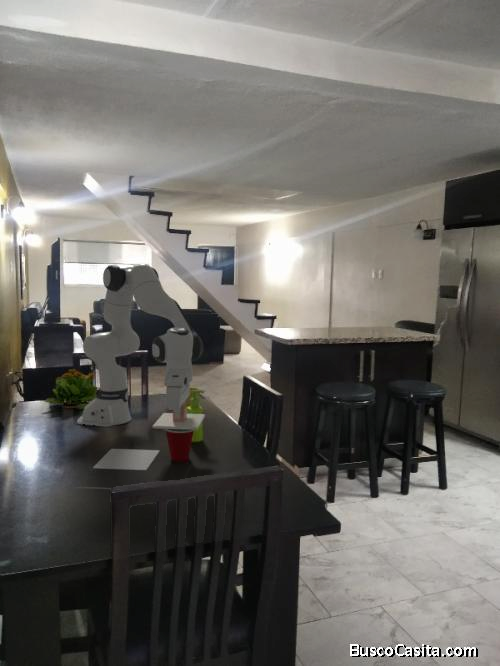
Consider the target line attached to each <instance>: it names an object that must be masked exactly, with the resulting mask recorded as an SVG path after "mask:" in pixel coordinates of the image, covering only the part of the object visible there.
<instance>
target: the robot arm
mask: <svg viewBox="0 0 500 666" xmlns="http://www.w3.org/2000/svg"><path fill="white" fill-rule="evenodd" d="M159 278H160V276H159V273H158V271H157V270H156V269H155V268H154V267H152V266H150V265H149V264H146V263H145V264H144V263H143V264H142V263H141V264H110V265H108V266H106V268H104V270H103V275H102V281H103V285H104V287H105V289H106V292H105V293H106V294H105V299H104V306H103V311H102V312H103V313H102V317H103V318H104V319H103V320H104V321H105V322H106V323H108V324H109V325H111V330H110V331H105V332H96V333H93V334H90V335H88V336H85V338H84V341H83V343H82V350H83V352H84V354H85V355H86V357H87V358H89V359H90V360H91V361H93V363H94V364H95V366H96V367H97V370H98V373H99V374H98V375H99V388H98V390H97V391H96V392H95V395H96V396H97V397H96V398H95V399H94V400H92V401H89V404H88V405H86V406H85V407H84V408H83V409H82V410H83V411H82V415H81V416H80V417H78V418H77V420H76V423H77V425H83V424H85V425H86V426H93V425H95V427H105V428H108V427H109V428H110V427H112V426H117V425H122V424H123V425H124V424H126V423H129V422H130V421H132V417H131V413H130V409H129V403H128V402H129V388H128V387H127V383H128V382H127V381H128V380H127V370H126V369H125V368H124V367H123V366H121V365H119V364H117V361H116V357H122V356H123V357H124V356H128V355H130V354H134V353H136V352H138V350H139V348H140V346H141V341H140V340H141V339H140V337H139V335H138V334H137V332H136V331H135V330H133V327H132V324H131V323H132V322H131V314H132V309H133V308H132V306H133V302H134V301H135V303H136V305H137V307H139V309H140V310H142V311H143V312H145V313H146V314H149V315H154V316H155V315H156V316H158V317H162V318H165V319H167V320H169V321H170V322H171V323H172V324H173V326H174V327H170V328H168V329H167V331H166V333H164V334H162V335H159V336H156V337H155V338H154V339H153V341H152V342H151V346H150V347H151V356H152V357H153V359H154V360H155V361H157V362H158V363H164V364H165V363H166V366H165V378H164V386H165V387H166V389H165V390H166V392H165V393H166V404H167V408H168V410H172V411H173V410H174V412H175V418H180V417H181V410H180V408H181V406H185V400H186V399H187V398H188V397H189V395H190V388H191V383H192V382H193V364H192V362H196V361H197V360H198V359H199V358H200V357H201V356H202V354H203V351H204V343H203V340H202V338H201V337H200V335H199V334H198V333H197V332H196V331H195V330H194V327H193V326H192V325H191V322H190V320H188V317H187V316H186V314H185V313H184V311H183V309H182V307H181V306H180V305H179V302H177V300H176V299H174V298H172V297H171V296H170V295H168V293H166V291H165V289H164V287H163V286H162V283H161V281H160V279H159Z"/></svg>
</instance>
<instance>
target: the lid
mask: <svg viewBox="0 0 500 666" xmlns="http://www.w3.org/2000/svg"><path fill="white" fill-rule="evenodd" d="M180 410H181V417H180V418H175V412H174V410H172V412H163V413H162V415H160V416H159V418H158V419H157V420H156V421H155V423H154V424H153V425H152V429H163V430H165V429H192V430H198V428H199V426H200V425H201V423H202V421H204V419H205V418H206V414H205V413H204V414H187V406H181V408H180Z"/></svg>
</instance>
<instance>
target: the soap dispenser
mask: <svg viewBox="0 0 500 666" xmlns="http://www.w3.org/2000/svg"><path fill="white" fill-rule="evenodd" d="M198 389H199V388H197V389H195V390H191V392H192V393H193V397H192V398H191V399H190V406H189V407H187V414H203V411H204V410H203V408H204V407H203V406H202V405H200V397H199V398H198V397H197V392H200V394H204V393H205V392H206V390H203V389H199V390H198ZM203 421H204V420H203ZM203 421H202V423H201V425H200V426H199V428H198V430H195V431H194V434H193V437H192V442H191V443H199V442H203V440H204V439H203V437H204V436H203V433H204V432H203V431H204V429H203V426H204V425H203V423H204V422H203Z"/></svg>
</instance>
